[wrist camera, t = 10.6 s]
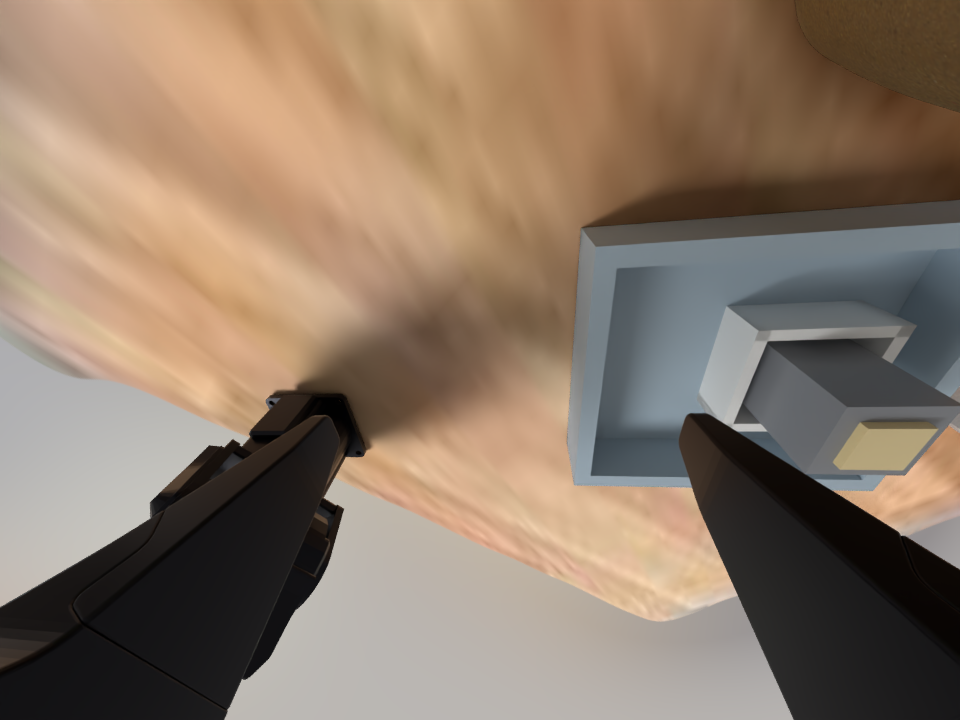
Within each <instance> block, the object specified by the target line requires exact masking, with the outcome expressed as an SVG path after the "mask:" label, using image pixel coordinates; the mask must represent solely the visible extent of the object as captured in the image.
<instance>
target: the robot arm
mask: <svg viewBox="0 0 960 720" xmlns="http://www.w3.org/2000/svg"><path fill="white" fill-rule="evenodd" d="M338 400H340V401H338ZM266 404H267V406H268V407H269V409H270V410H269V411H268V412H267V413H266V414H265V416H264V417H263V418H262V419H261V420H260V421H259V422H258V423H257V424H256V425H255V426H254V427H253V428H252V429H251V431H250V433H249V435H250V436H251V437H250V438H249V440H247V442H246V443H245V444H244V445H243V446H242V447H241V446H240V443H238V442H236V441H235V440H231V441H230V442H229V443H228V444H227V445H226V446H225V447H222V446H220V447H219V446H210V445H209V446H208V447H207V448H206V449H205V450H204V451H203V452H202V453H201V454H200V455H199V456H198V457H197V458H196V459H195V460H194V461H193V462H192V463H191V464H190V465H189V466H188V467H187V468H186V469H185V470H184V471H182V472H181V473H180V474H179V475H178V476H177V477H176V478H175V479H174V480H173V481H172V482H171V483H170V484H169V485H168V486H167V487H165V489H163V490H162V491H161V492H160V493H159V494H158V495H157V496H156V497H155V498H154V499H153V500H152V501H151V502H150V519H149V520H147V521H146V522H144V523H143V524H141V525H139V526H138V527H137V528H135V529H133V530H131V531H130V532H128V533H126V534H125V535H124V536H122V537H120V538H119V539H117V540H115V541H114V542H112V543H110V544H108V545H107V546H105V547H103V548H102V549H100V550H98V551H97V552H95V553H93V554H91V555H90V556H88V557H86V558H85V559H83V560H81V561H79V562H78V563H76V564H74V565H73V566H71V567H69V568H67V569H66V570H64V571H62V572H61V573H59V574H57V575H55V576H54V577H52V578H50V579H48V580H47V581H45V582H43V583H41V584H40V585H38V586H36V587H35V588H33V589H31V590H29V591H27V592H26V593H24V594H22V595H20V596H19V597H17V598H15V599H14V600H12V601H10V602H8V603H7V604H5V605H3V606H1V607H0V720H224V719H225V717H226V714H227V709H228V708H229V707H230V705H231V703H232V700H233V698H234V696H235V694H236V691H237V689H238V687H239V685H240V682H241V680H242V679H243V680H245V679H247V678H248V677H250V676H251V675H253V674H254V672H256V670H258V669H259V668H260V667H261V666H262V665H263V664H264V663H265V662H266V661H267V660H268V659H269V658H270V656H271V655H272V653H273V651H274V649H275V647H276V645H277V643H278V641H279V639H280V637H281V635H282V633H283V631H284V629H285V627H286V626H287V624H288V622H289V620H290V618H291V616H292V615H293V613H294V611H295V610H296V609H298V608H299V607H300V606H301V605H302V604H303V603H304V602H305V601H306V600H307V598H308V597H309V596H310V595H311V593H312V592H313V591H314V589H315V588H316V586H317V585H318V583H319V581H320V580H321V578H322V576H323V574H324V572H325V570H326V568H327V566H328V563H329V560H330V557H331V553H332V550H333V546H334V543H335V539H336V535H337V532H338V528H339V525H340V521H341V518H342V514H343V511H344V509H343V508H342V507H340V506H339V505H334V504H333V503H331V502H330V501H328V500H326V499H325V498H324V496H325V494H326V492H327V491H328V489H329V487H330V485H331V483H332V482H333V480H334V478H335V476H336V474H337V472H338V471H339V469H340V467H341V465H342V463H343V461H344V460H345V458H346V457H363V456H364V454H365V452H366V448H365V446H364V443H363V440H362V438H361V435H360V432H359V430H358V427H357V425H356V422H355V419H354V417H353V414H352V412H351V409H350V406H349V404H348V401H347V399H346V397H345V396H344V395H341V394H297V395H270V396H269V397H268V398H267V399H266ZM679 448H680V451H681V455H682V458H683V461H684V464H685V467H686V470H687V473H688V476H689V479H690V483H691V486H692V489H693V492H694V495H695V498H696V501H697V504H698V507H699V509H700V512H701V514H702V516H703V519H704V521H705V523H706V525H707V528H708V530H709V532H710V534H711V537H712V539H713V541H714V543H715V546H716V548H717V550H718V552H719V554H720V557H721V559H722V561H723V563H724V566H725V568H726V570H727V572H728V574H729V577H730V579H731V581H732V583H733V586H734V588H735V590H736V592H737V594H738V597H739V599H740V601H741V603H742V606H743V608H744V610H745V612H746V614H747V617H748V619H749V621H750V623H751V626H752V628H753V630H754V632H755V635H756V637H757V639H758V641H759V643H760V646H761V648H762V650H763V652H764V655H765V657H766V659H767V661H768V663H769V666H770V668H771V670H772V672H773V674H774V677H775V679H776V681H777V683H778V685H779V688H780V690H781V692H782V695H783V697H784V699H785V701H786V703H787V706H788V708H789V710H790V712H791V715H792V717H793V719H794V720H960V569H958V568H956V567H955V566H953V565H951V564H950V563H948V562H946V561H945V560H943V559H942V558H940V557H938V556H937V555H935V554H933V553H932V552H930V551H929V550H927V549H925V548H924V547H922V546H920V545H919V544H917V543H916V542H914V541H913V540H911V539H909V538H908V537H906V536H901V535H900V533H899V532H898V531H896V530H895V529H893V528H891V527H890V526H888V525H887V524H885V523H883V522H882V521H880V520H879V519H877V518H875V517H874V516H872V515H871V514H869V513H867V512H866V511H864V510H863V509H861V508H859V507H858V506H856V505H854V504H853V503H851V502H850V501H848V500H846V499H845V498H843V497H842V496H840V495H838V494H837V493H835V492H834V491H832V490H830V489H829V488H827V487H826V486H824V485H822V484H821V483H819V482H818V481H816V480H814V479H813V478H811V477H809V476H808V475H806V474H805V473H803V472H801V471H800V470H798V469H797V468H795V467H793V466H792V465H790V464H789V463H787V462H785V461H784V460H782V459H781V458H779V457H777V456H776V455H774V454H773V453H771V452H769V451H768V450H766V449H765V448H763V447H761V446H760V445H758V444H756V443H755V442H753V441H752V440H750V439H748V438H747V437H745V436H744V435H742V434H740V433H739V432H737V431H736V430H734V429H732V428H731V427H729V426H728V425H726V424H724V423H723V422H721V421H720V420H718V419H716V418H715V417H713V416H711V415H710V414H707V413H689V414H687V415H686V417H685V420H684V423H683V426H682V429H681V432H680V436H679Z"/></svg>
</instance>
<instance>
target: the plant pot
mask: <svg viewBox="0 0 960 720" xmlns="http://www.w3.org/2000/svg"><path fill="white" fill-rule="evenodd" d="M795 6H796V13H797V18H798V21H799V24H800V27H801V29H802V31H803V33H804V35H805V37H806V38H807V40H808V41H809V43H810V44H811V45H812V46H813V47H814V48H815V49H816V50H817V51H818V52H819V53H820V54H822V55H823V56H825V57H827V58H828V59H830V60H831V61H833V62H835V63H837V64H839V65H840V66H842V67H844V68H846V69H848V70H850V71H851V72H853V73H855V74H857V75H859V76H861V77H863V78H865V79H867V80H870V81H872V82H874V83H877V84H879V85H881V86H884V87H886V88H888V89H891V90H893V91H896V92H898V93H901V94H904V95H906V96H909V97H912V98H915V99H918V100H921V101H924V102H927V103H930V104H934V105H937V106H940V107H943V108H947V109H950V110H953V111H957V112H960V0H795Z"/></svg>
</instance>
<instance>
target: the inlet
mask: <svg viewBox="0 0 960 720" xmlns="http://www.w3.org/2000/svg"><path fill="white" fill-rule="evenodd" d="M916 327H917V325H915V324H913V323H911V322H909V321H907V320H904V319H902V318H900V317H898V316H895V315H893V314H891V313H889V312H887V311H884V310H882V309H880V308H878V307H875V306H873V305H871V304H869V303H867V302H864V301H862V300H855V301H832V302H809V303H786V304H763V305H740V306H726V309H725V312H724V315H723V318H722V321H721V324H720V327H719V330H718V334H717V337H716V340H715V343H714V346H713V349H712V352H711V355H710V359H709V362H708V365H707V368H706V371H705V374H704V377H703V380H702V383H701V387H700V390H699V393H698V396H697V401H698V402H699V404H700V405H701V407H702V408H703V409H704V411H705V412H706V413H707V414H710V415H711V416H713V417H715V418H716V419H718V420H720V421H721V422H723V423H724V424H726V425H728V426H729V427H731V428H732V429H734V430H736V431H767V430H766V429H765V428H764V427H763V426H762V425H761V423H760V422H759V421H758V420H757V419H756V418H755V417H754V415H753V414H752V413H751V412H750V411H749V410H748V409H747V407H746V406H745V405H744V404H743V403H742V402H743V399H744V397H745V394H746V392H747V390H748V387H749V385H750V382H751V380H752V378H753V375H754V373H755V370H756V368H757V366H758V363H759V361H760V358H761V356H762V353H763V351H764V349H765V346H766V344H767V341H790V340H822V339H851V340H852V341H854V342H856V343H858V344H859V345H861V346H863V347H864V348H866V349H868V350H870V351H871V352H873V353H875V354H876V355H878V356H880V357H882V358H883V359H885V360H887V361H888V362H890V363H893V361H894V360H895V358H896V357H897V355H898V354H899V352H900V351H901V349H902V348H903V346H904V345H905V343H906V342H907V340H908V339H909V337H910V336H911V334H912V333H913V331H914V330H915V328H916Z"/></svg>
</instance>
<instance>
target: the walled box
mask: <svg viewBox="0 0 960 720" xmlns="http://www.w3.org/2000/svg"><path fill="white" fill-rule="evenodd" d="M855 300H862V301H864V302H867V303H869V304H871V305H873V306H875V307H878V308H880V309H882V310H884V311H887V312H889V313H891V314H893V315H895V316H898V317H900V318H902V319H904V320H907V321H909V322H911V323H913V324H915V325H917V327H916V328H915V330H914V331H913V333H912V334H911V336H910V337H909V339H908V340H907V342H906V343H905V345H904V346H903V348H902V349H901V351H900V352H899V354H898V355H897V357H896V358H895V360H894V361H893V363H892V364H894V365H895V366H897V367H899V368H901V369H902V370H904V371H906V372H907V373H909V374H911V375H913V376H914V377H916V378H918V379H919V380H921V381H923V382H925V383H926V384H928V385H930V386H931V387H933V388H935V389H937V390H938V391H940V392H942V393H943V394H945V395H947V396H949V397H951V396H952V395H953V394H954V392H955V391H956V390H957V389H958V388H959V386H960V200H952V201H938V202H925V203H911V204H897V205H884V206H870V207H857V208H843V209H830V210H816V211H803V212H789V213H775V214H762V215H748V216H735V217H721V218H708V219H694V220H681V221H667V222H653V223H640V224H626V225H613V226H599V227H586V228H581V235H580V250H579V266H578V281H577V296H576V311H575V326H574V341H573V357H572V372H571V387H570V402H569V417H568V433H567V446H568V452H569V458H570V463H571V469H572V475H573V481H574V485H586V486H638V487H690V488H692V486H691V483H690V479H689V476H688V473H687V470H686V467H685V464H684V461H683V458H682V455H681V451H680V448H679V436H680V432H681V429H682V426H683V423H684V420H685V417H686V415H687V414H689V413H706V412H705V411H704V409H703V408H702V407H701V405H700V404H699V402H698V401H697V396H698V393H699V390H700V387H701V383H702V380H703V377H704V374H705V371H706V368H707V365H708V362H709V359H710V355H711V352H712V349H713V346H714V343H715V340H716V337H717V334H718V330H719V327H720V324H721V321H722V318H723V315H724V312H725V309H726V306H740V305H763V304H786V303H809V302H832V301H855ZM737 432H739V433H740V434H742V435H744V436H745V437H747V438H748V439H750V440H752V441H753V442H755V443H756V444H758V445H760V446H761V447H763V448H765V449H766V450H768V451H769V452H771V453H773V454H774V455H776V456H777V457H779V458H781V459H782V460H784V461H785V462H787V463H789V464H790V465H792V466H793V467H795V468H797V469H798V470H800V471H801V472H803V471H802V470H801V469H800V468H799V467H798V466H797V464H796V463H795V462H794V461H793V460H792V459H791V458H790V456H789V455H788V454H787V453H786V452H785V451H784V450H783V448H782V447H781V446H780V445H779V444H778V443H777V442H776V440H775V439H774V438H773V437H772V436H771V435H770V434H769V433H768V431H737ZM803 473H804V472H803ZM806 475H808V476H809V477H811V478H813V479H814V480H816V481H818V482H819V483H821V484H822V485H824V486H826V487H827V488H829V489H830V490H848V491H873V490H874V489H875V488H876V487H877V485H878V484H879V483H880V482H881V481H882V479H883V478H884V477H885V476H886V475H836V474H806Z"/></svg>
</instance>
